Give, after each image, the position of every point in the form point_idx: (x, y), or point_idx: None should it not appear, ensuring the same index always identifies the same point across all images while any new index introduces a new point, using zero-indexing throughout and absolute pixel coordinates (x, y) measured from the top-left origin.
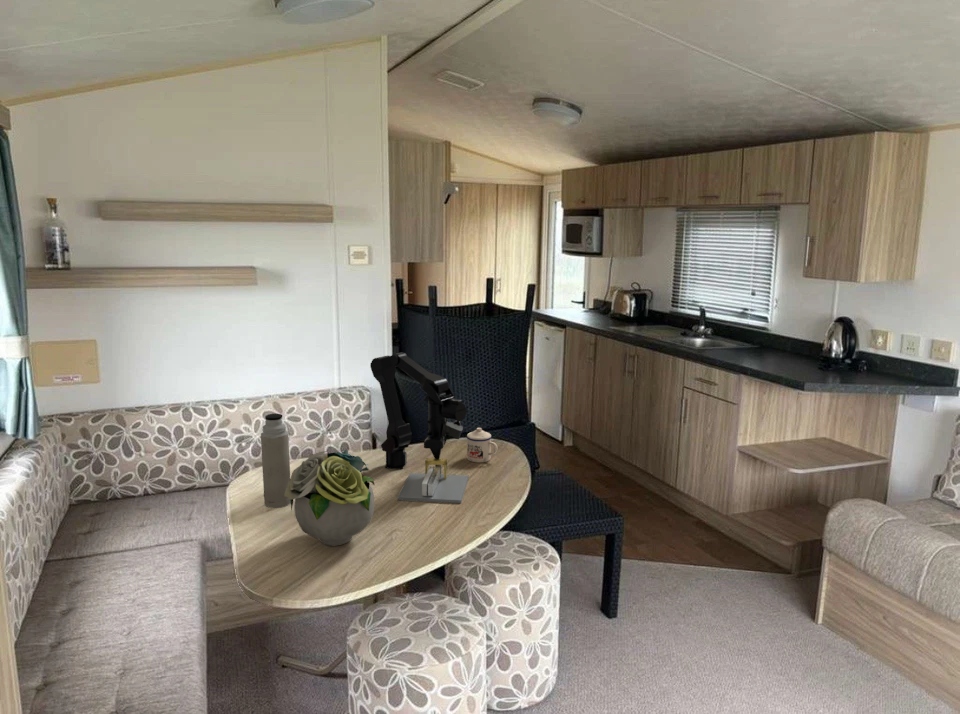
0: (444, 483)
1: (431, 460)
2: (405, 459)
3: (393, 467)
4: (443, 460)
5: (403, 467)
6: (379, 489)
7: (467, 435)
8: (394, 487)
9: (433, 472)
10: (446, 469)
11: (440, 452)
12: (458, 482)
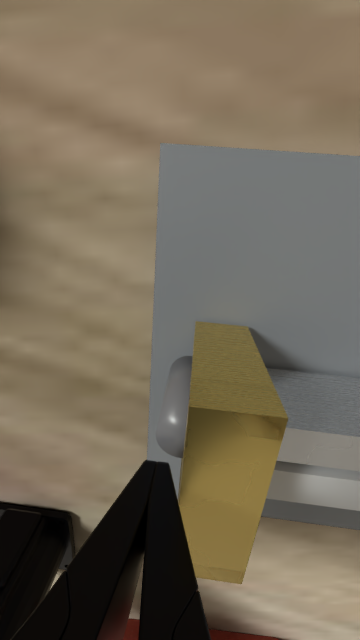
0: (324, 333)
1: (242, 546)
2: (14, 543)
3: (72, 546)
4: (245, 445)
5: (55, 511)
6: (310, 576)
7: None
8: (294, 536)
9: None
10: (242, 355)
11: (129, 550)
12: (318, 229)
